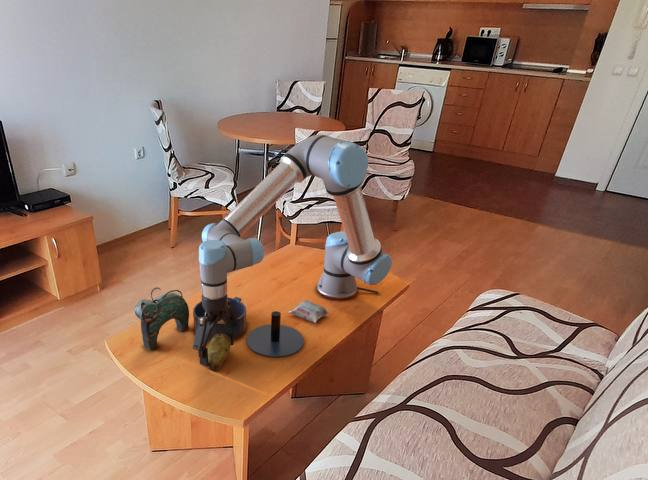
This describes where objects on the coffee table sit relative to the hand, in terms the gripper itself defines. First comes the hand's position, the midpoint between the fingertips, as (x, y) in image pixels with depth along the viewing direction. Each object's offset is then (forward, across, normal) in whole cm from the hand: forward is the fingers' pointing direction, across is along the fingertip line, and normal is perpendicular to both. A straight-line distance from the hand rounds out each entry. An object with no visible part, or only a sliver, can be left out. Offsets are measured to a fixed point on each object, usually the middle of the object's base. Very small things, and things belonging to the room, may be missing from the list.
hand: (217, 354), depth 157 cm
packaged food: (+3, -39, +12) cm, 41 cm away
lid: (+2, -19, +10) cm, 22 cm away
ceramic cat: (+3, -1, -23) cm, 23 cm away
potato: (+3, 0, 0) cm, 3 cm away
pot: (+3, -17, -11) cm, 20 cm away
